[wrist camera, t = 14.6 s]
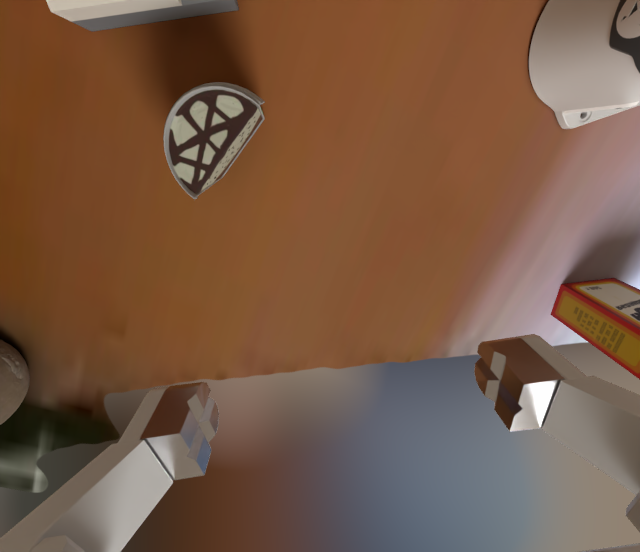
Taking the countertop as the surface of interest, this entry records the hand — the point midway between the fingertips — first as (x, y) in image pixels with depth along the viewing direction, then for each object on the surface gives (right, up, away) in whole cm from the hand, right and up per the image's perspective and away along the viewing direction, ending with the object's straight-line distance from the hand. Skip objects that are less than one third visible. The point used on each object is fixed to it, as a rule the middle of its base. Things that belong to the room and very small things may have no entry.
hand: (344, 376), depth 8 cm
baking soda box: (+47, -1, +42) cm, 63 cm away
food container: (-13, +21, +27) cm, 37 cm away
